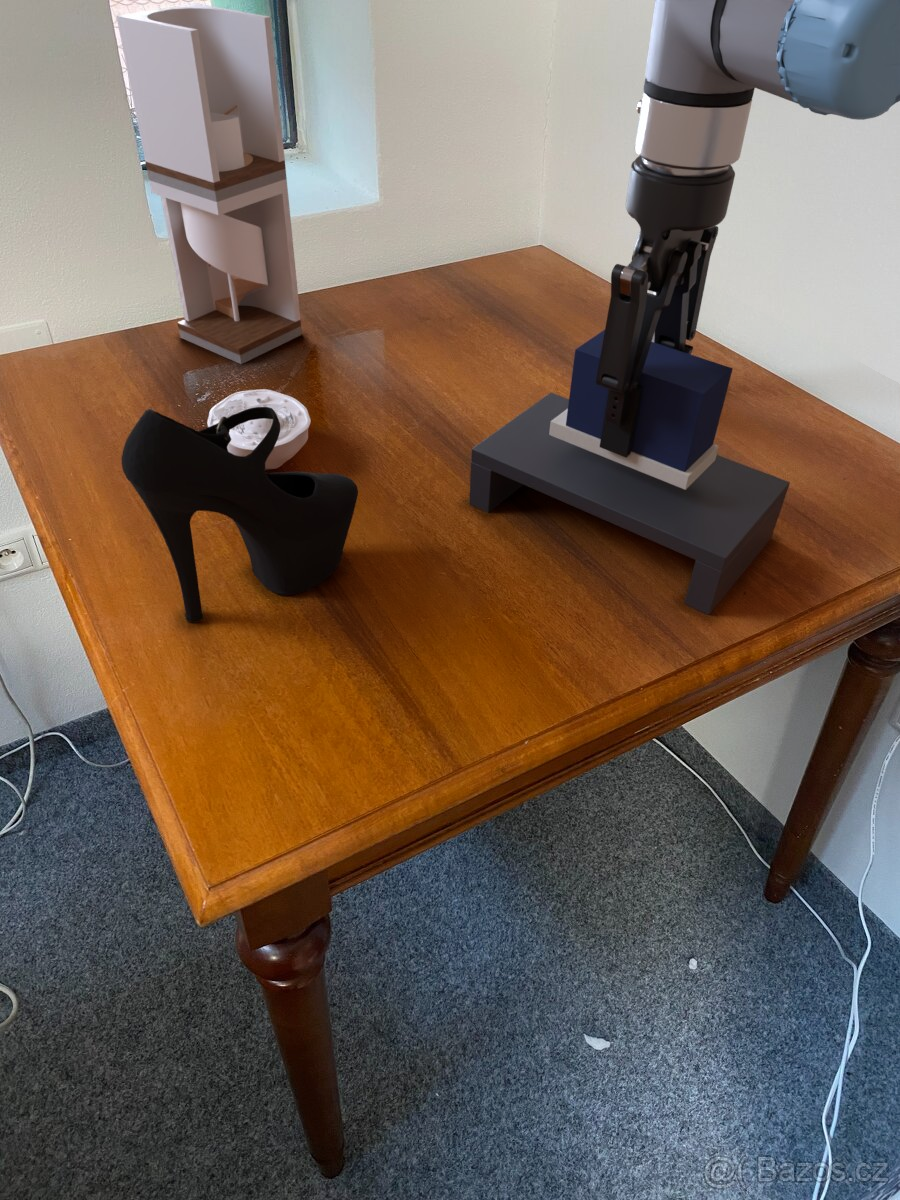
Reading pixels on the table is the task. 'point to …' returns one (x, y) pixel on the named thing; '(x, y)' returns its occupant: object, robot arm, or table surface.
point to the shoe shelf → (637, 497)
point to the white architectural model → (217, 171)
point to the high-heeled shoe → (238, 501)
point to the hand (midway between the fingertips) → (633, 434)
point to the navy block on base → (652, 412)
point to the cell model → (264, 424)
